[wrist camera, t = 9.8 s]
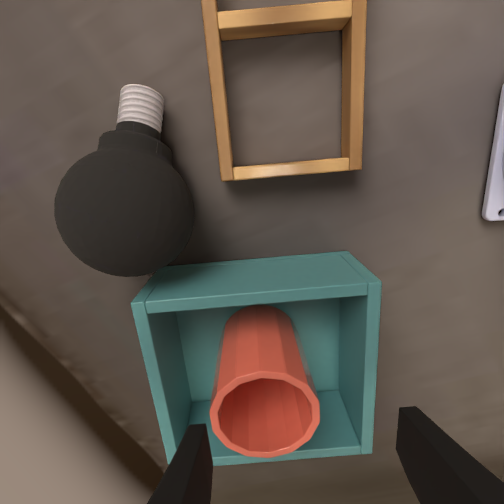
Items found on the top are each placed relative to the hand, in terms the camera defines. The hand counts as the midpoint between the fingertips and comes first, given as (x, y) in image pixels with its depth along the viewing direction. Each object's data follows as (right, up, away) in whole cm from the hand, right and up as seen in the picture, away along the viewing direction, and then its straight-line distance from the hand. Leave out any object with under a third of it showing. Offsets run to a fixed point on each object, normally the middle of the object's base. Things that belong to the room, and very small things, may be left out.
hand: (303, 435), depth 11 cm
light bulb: (-8, +11, +7) cm, 15 cm away
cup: (-1, +1, +9) cm, 10 cm away
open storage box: (-1, +1, +10) cm, 10 cm away
